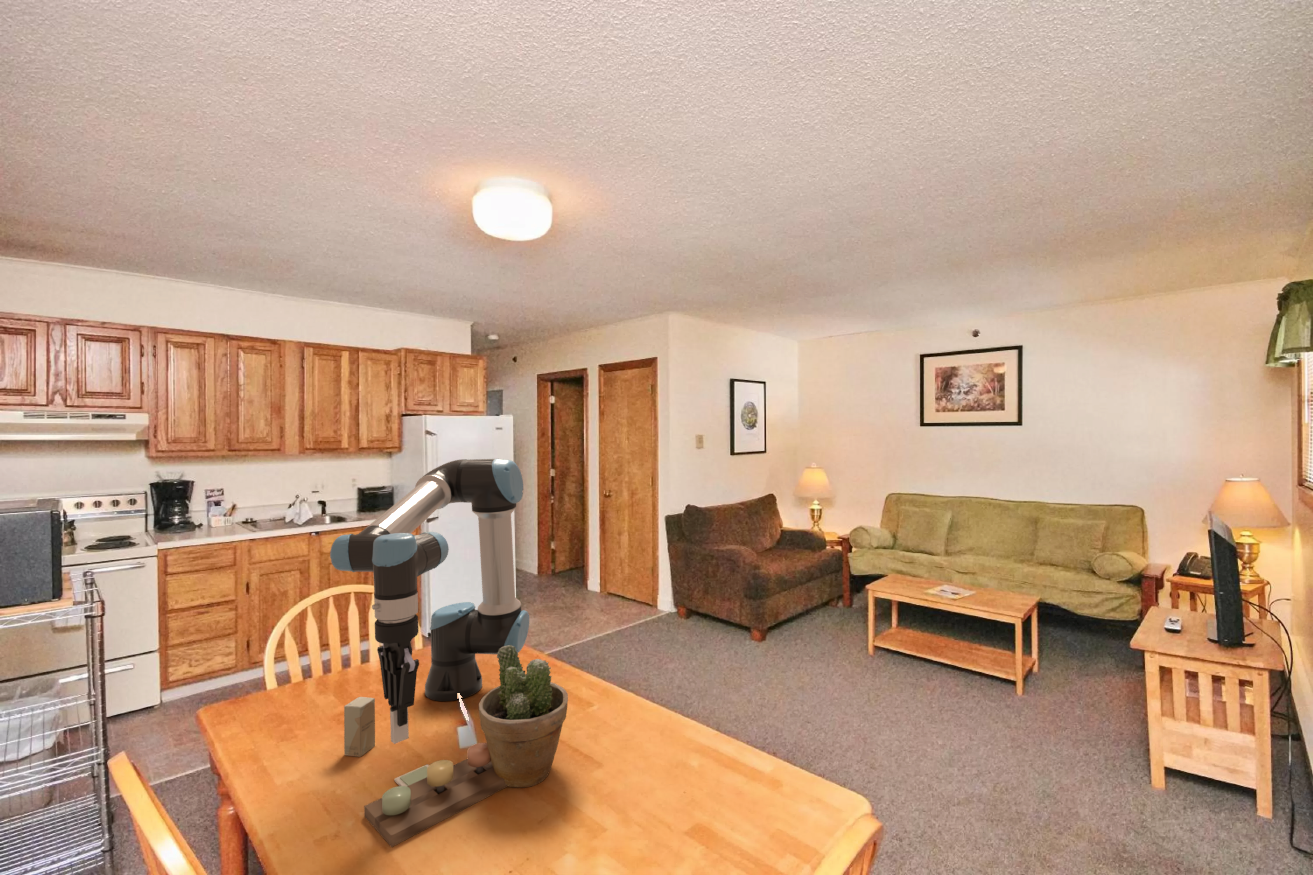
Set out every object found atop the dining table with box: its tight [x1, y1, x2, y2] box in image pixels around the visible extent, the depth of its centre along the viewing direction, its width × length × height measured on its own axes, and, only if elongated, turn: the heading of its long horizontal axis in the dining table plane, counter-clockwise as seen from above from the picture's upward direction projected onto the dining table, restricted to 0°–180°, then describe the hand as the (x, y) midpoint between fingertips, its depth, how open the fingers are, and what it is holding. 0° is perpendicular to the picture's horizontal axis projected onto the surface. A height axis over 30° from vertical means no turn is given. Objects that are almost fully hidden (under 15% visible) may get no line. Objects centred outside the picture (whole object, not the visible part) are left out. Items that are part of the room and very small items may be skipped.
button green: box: [381, 785, 411, 816], centre depth 108 cm, size 5×5×5 cm
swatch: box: [394, 763, 430, 787], centre depth 120 cm, size 7×7×1 cm
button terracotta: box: [466, 742, 491, 773], centre depth 120 cm, size 5×5×5 cm
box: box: [343, 696, 376, 757], centre depth 132 cm, size 5×4×11 cm
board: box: [363, 758, 508, 848], centre depth 114 cm, size 24×12×2 cm, turn 137°
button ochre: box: [427, 759, 454, 792], centre depth 114 cm, size 5×5×5 cm
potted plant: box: [478, 645, 569, 788], centre depth 122 cm, size 18×19×25 cm
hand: (399, 739), depth 111 cm, fingers closed
